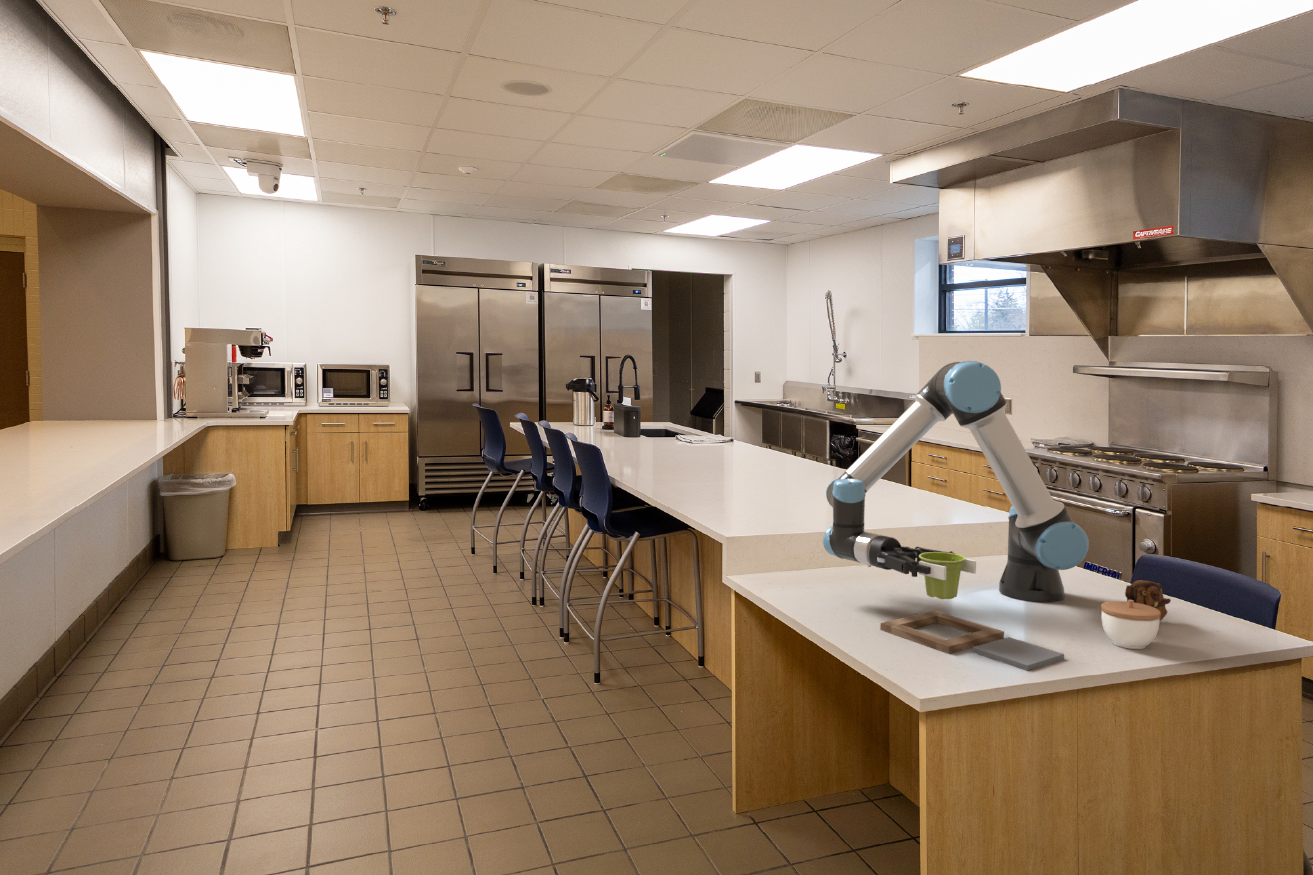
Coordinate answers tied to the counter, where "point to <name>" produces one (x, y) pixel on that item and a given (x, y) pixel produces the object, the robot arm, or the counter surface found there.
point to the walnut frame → (905, 630)
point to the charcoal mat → (1018, 653)
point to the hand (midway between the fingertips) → (960, 570)
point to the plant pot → (953, 569)
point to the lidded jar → (1130, 623)
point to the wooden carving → (1148, 595)
